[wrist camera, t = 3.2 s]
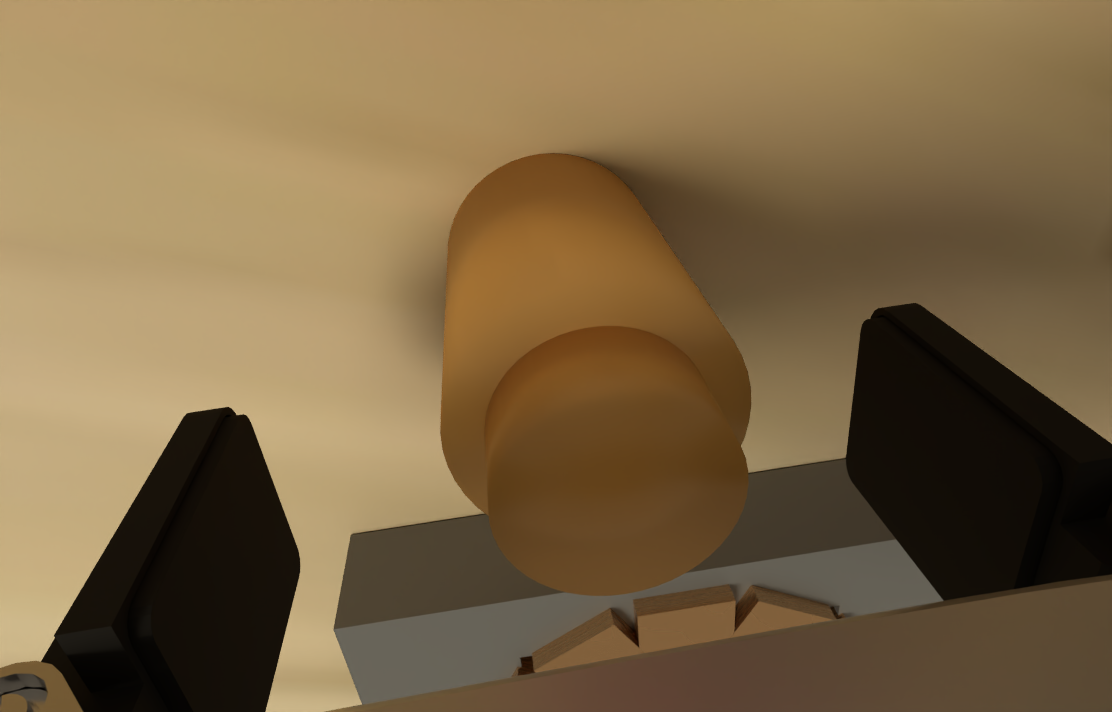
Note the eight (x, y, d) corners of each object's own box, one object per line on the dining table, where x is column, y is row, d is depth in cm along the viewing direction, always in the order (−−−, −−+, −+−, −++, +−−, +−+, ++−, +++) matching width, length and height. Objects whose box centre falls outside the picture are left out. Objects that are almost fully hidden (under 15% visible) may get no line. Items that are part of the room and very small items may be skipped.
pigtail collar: (845, 475, 20) (913, 572, 17) (812, 713, 25) (860, 818, 22) (453, 536, 19) (452, 646, 16) (507, 765, 25) (513, 880, 22)
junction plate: (939, 444, 20) (1012, 520, 17) (882, 711, 26) (929, 797, 23) (350, 535, 19) (333, 629, 16) (434, 788, 25) (432, 886, 22)
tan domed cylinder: (646, 140, 15) (810, 317, 8) (653, 329, 17) (784, 598, 10) (430, 168, 14) (402, 377, 8) (465, 356, 17) (468, 650, 10)
